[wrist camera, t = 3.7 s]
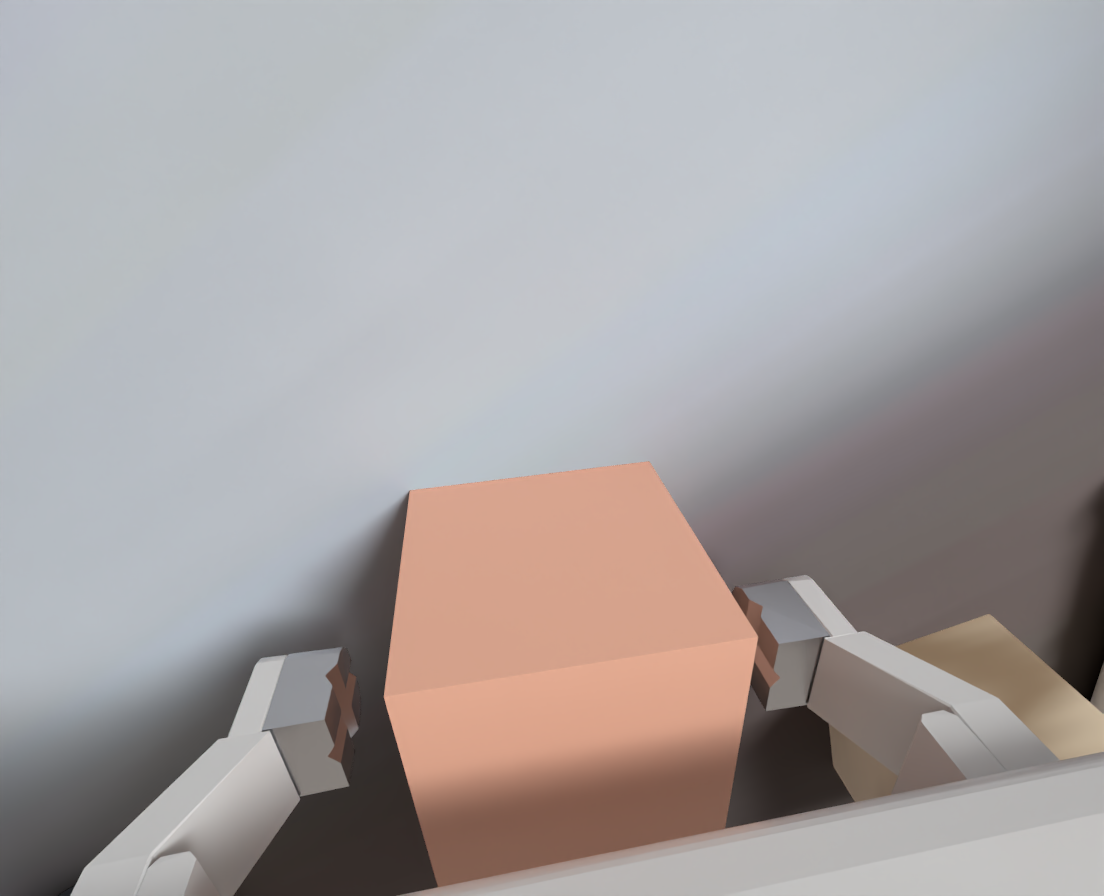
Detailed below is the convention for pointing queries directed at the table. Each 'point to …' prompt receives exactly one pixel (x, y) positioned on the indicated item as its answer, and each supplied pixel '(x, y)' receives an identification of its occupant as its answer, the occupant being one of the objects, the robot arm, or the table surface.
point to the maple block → (1001, 671)
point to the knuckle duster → (1099, 692)
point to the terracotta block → (562, 671)
